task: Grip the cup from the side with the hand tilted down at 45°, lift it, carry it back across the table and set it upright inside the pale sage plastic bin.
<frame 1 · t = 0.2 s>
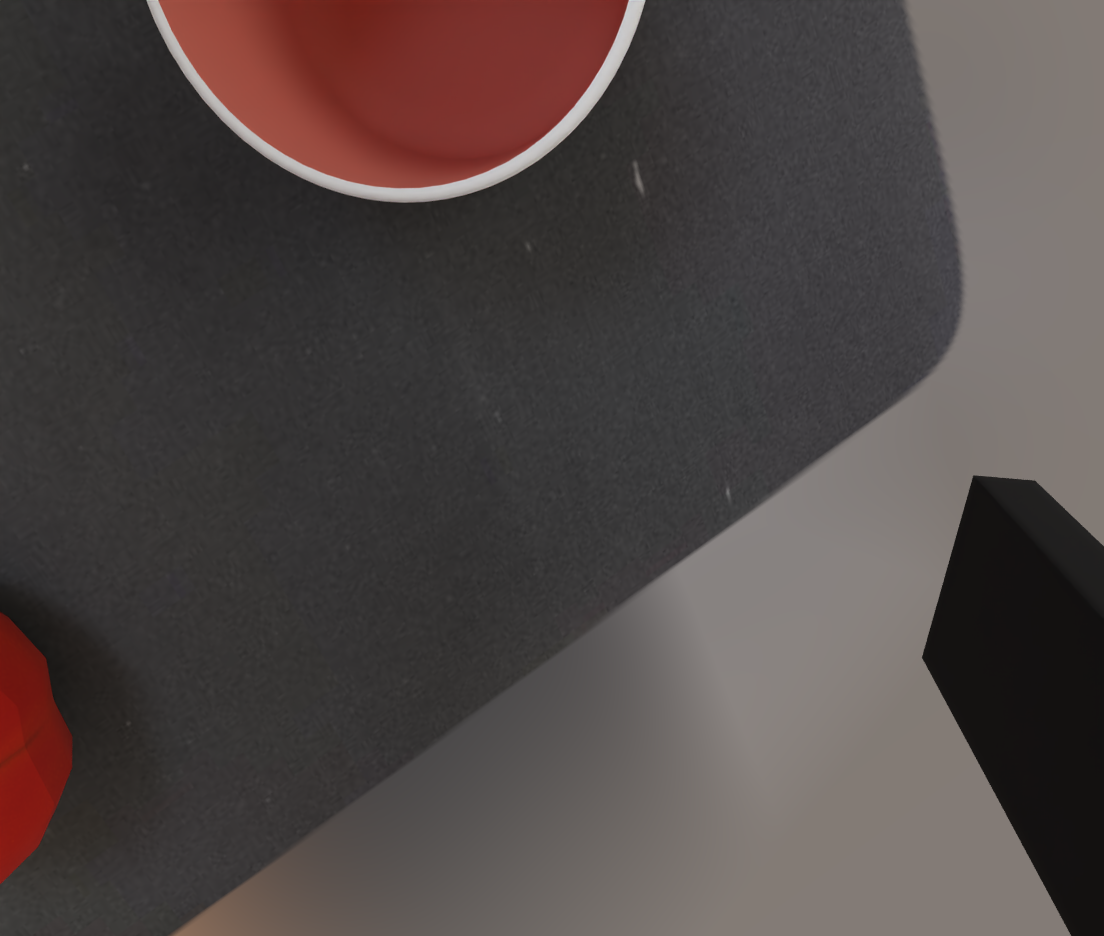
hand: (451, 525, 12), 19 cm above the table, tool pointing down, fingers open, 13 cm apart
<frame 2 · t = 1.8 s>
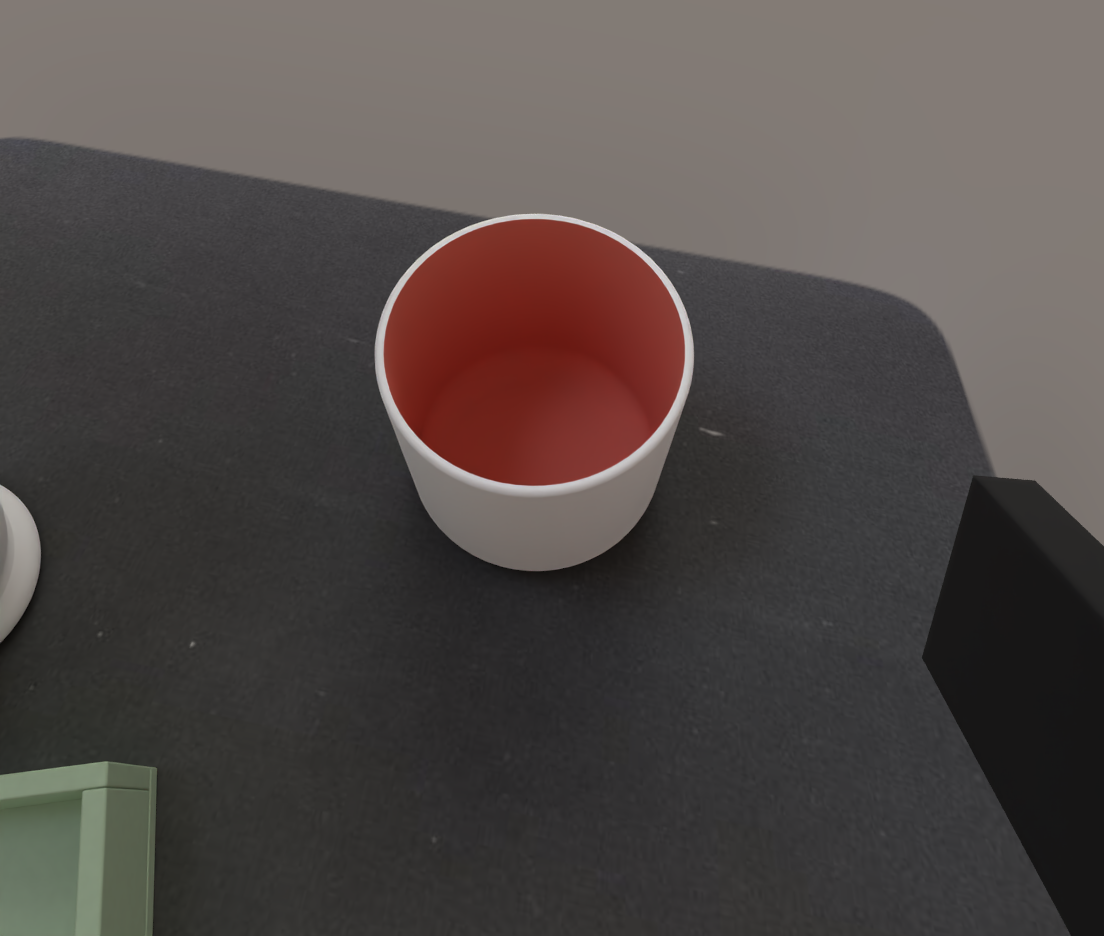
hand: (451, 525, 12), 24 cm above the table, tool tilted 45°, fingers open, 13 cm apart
cup: (536, 463, 38), on the table
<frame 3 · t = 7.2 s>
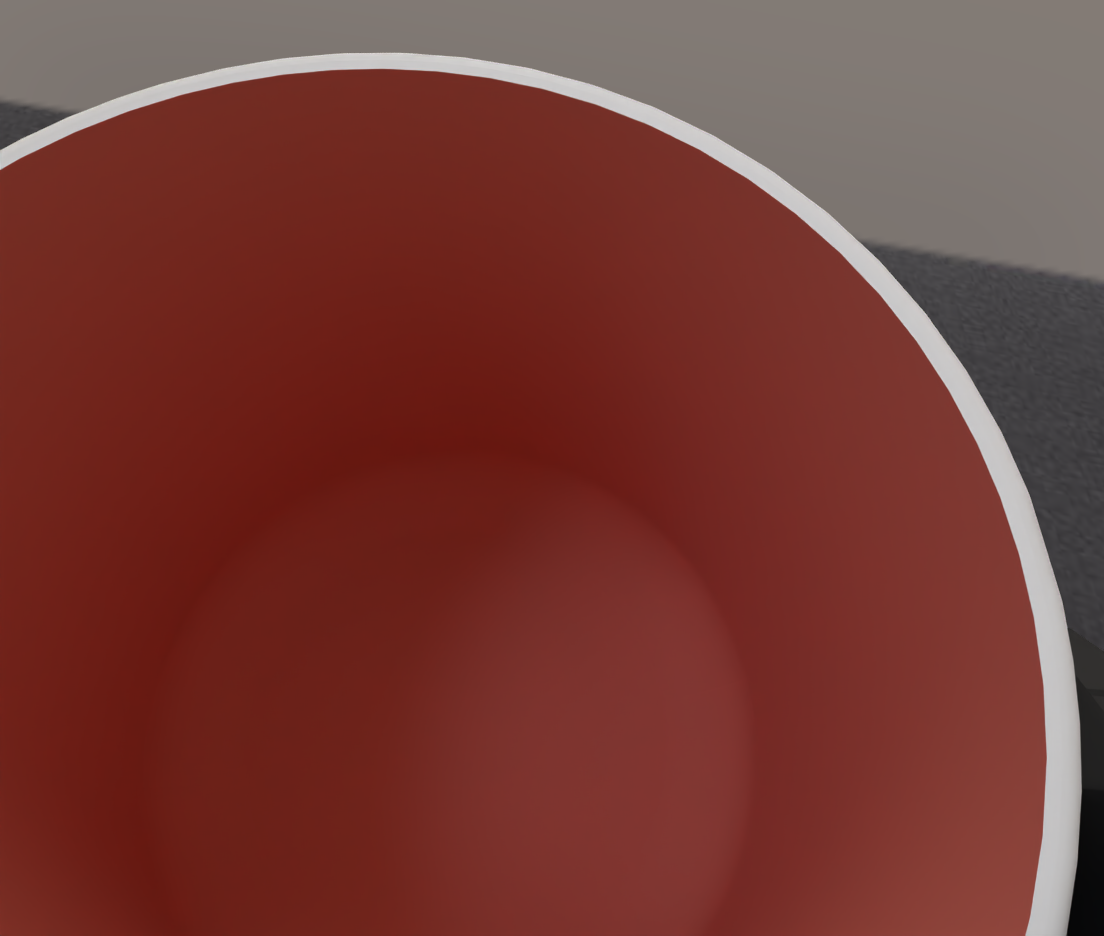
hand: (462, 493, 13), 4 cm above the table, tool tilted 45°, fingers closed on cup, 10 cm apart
cup: (460, 740, 16), on the table, touching gripper
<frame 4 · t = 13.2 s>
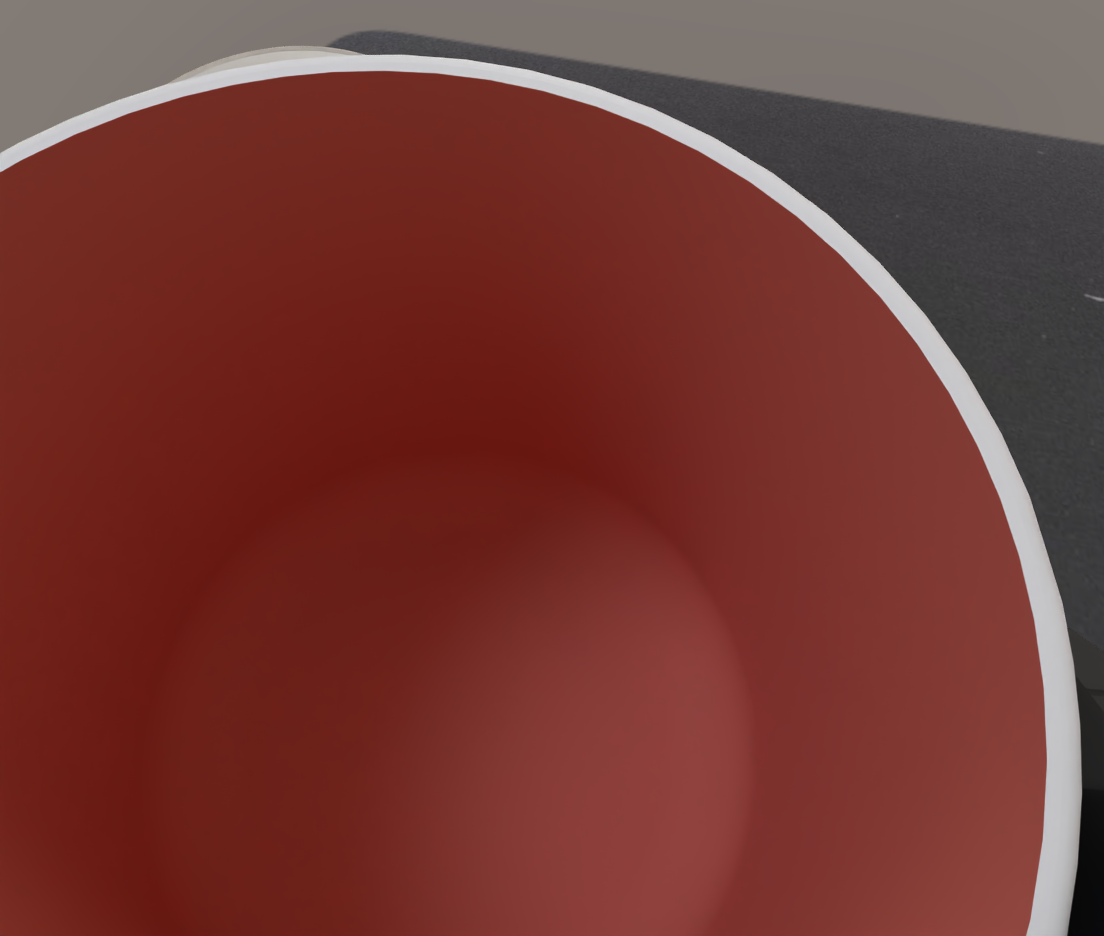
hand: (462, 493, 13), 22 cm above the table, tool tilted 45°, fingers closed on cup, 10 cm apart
cup: (461, 740, 16), point 18 cm above the table, touching gripper
jar: (378, 434, 37), on the table
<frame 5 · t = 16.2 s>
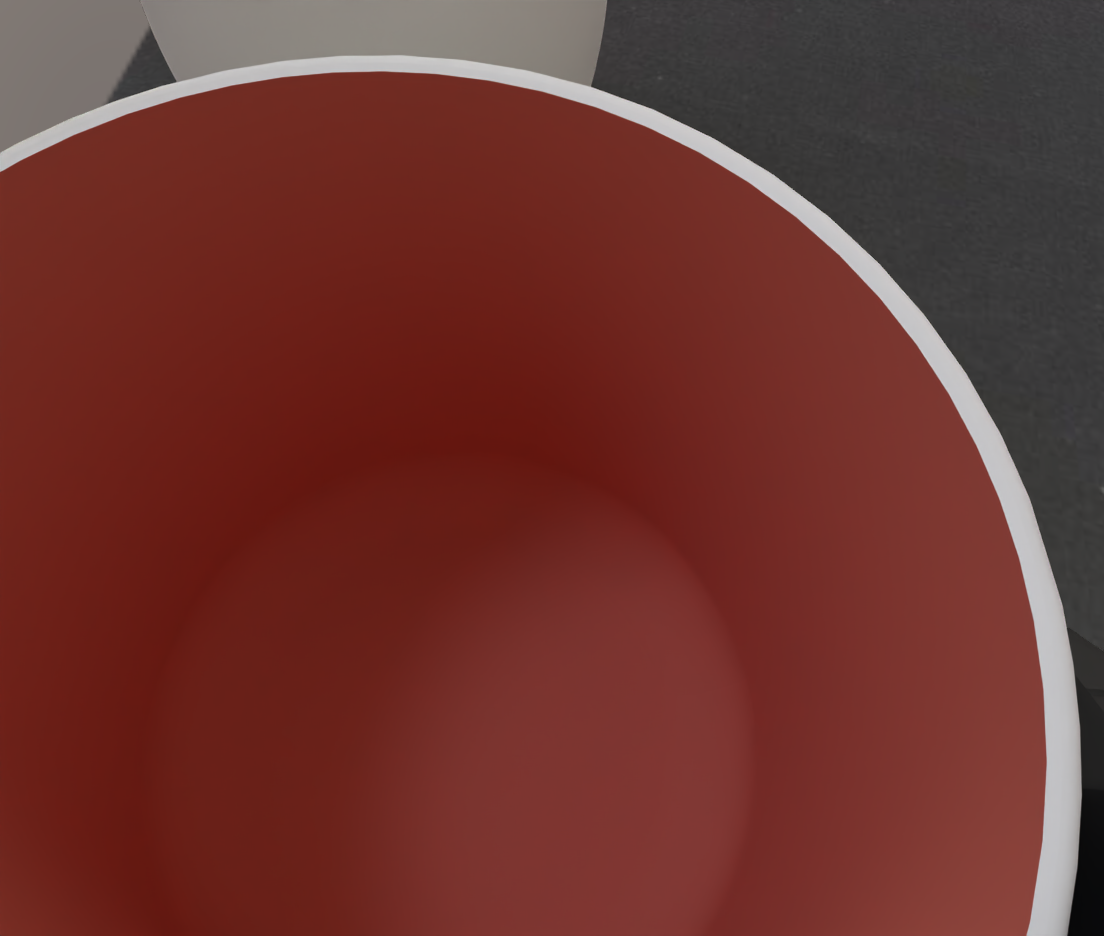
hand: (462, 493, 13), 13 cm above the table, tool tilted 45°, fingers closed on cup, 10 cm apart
cup: (460, 741, 16), point 8 cm above the table, touching gripper
jar: (429, 222, 30), on the table
when the fingers open (5 cm above the table, at t = 19.0 s): cup stays where it is, resting on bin.
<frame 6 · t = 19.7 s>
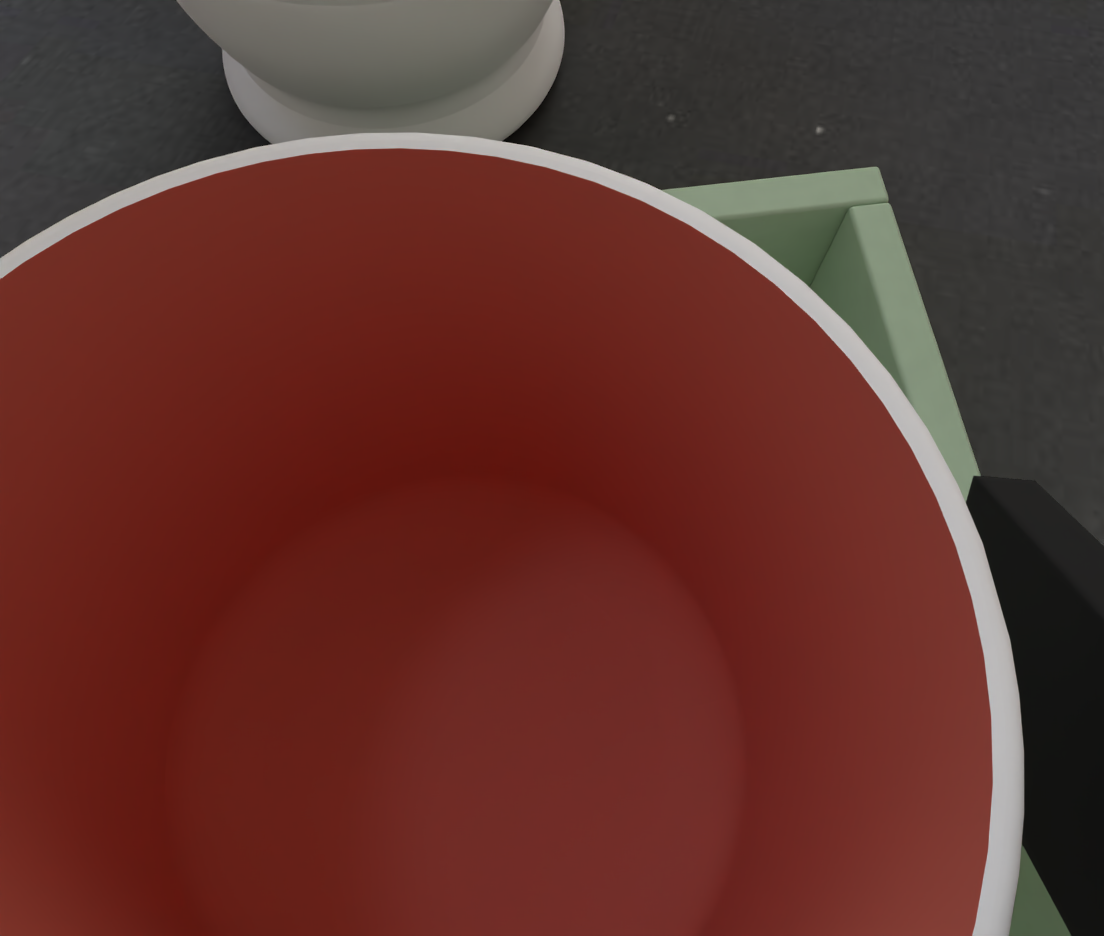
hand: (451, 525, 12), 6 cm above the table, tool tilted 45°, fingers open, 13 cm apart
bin: (467, 747, 17), on the table
cup: (466, 751, 16), resting on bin
jar: (399, 55, 23), on the table
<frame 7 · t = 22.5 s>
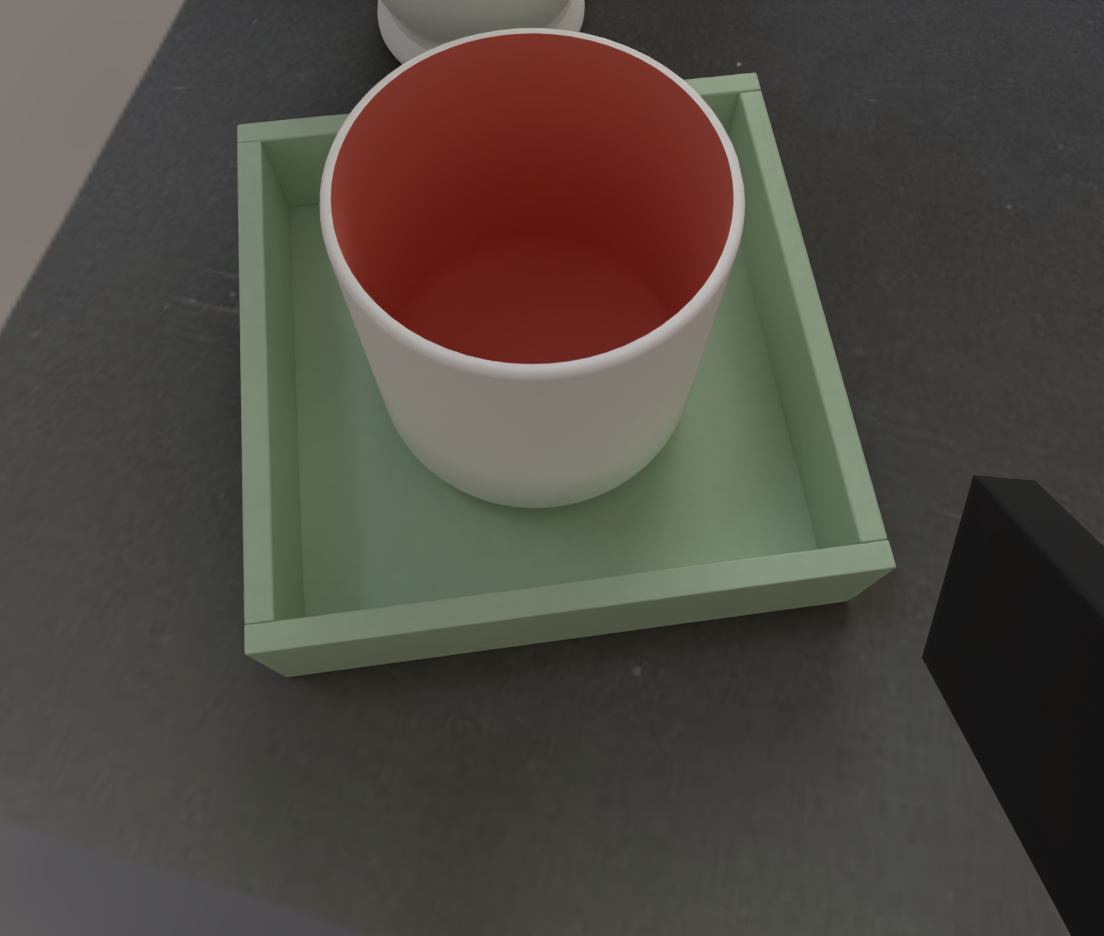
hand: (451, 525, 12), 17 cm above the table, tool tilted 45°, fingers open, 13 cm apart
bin: (535, 385, 31), on the table
cup: (536, 382, 31), resting on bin
jar: (482, 19, 37), on the table
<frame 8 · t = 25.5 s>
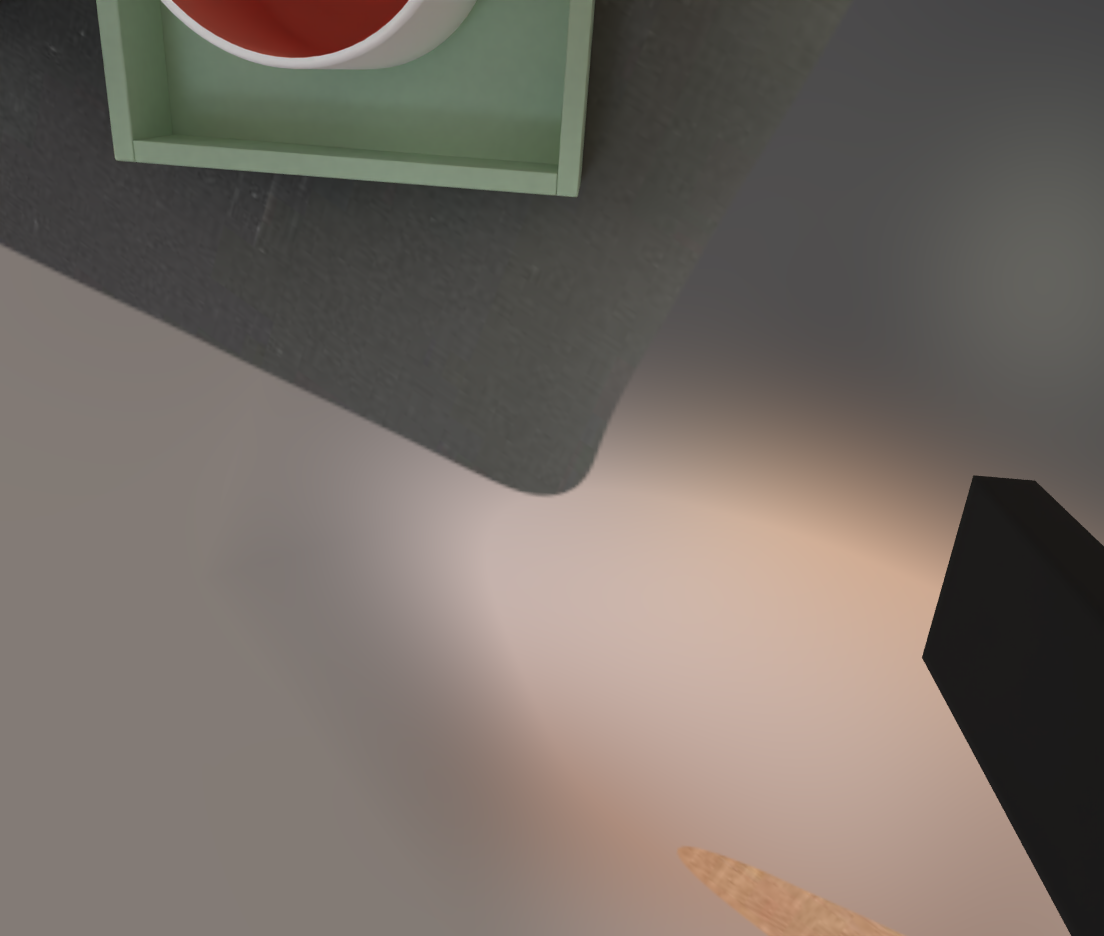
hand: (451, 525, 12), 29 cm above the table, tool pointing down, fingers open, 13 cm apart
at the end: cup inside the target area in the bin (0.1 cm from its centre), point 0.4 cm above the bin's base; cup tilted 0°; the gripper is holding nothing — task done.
